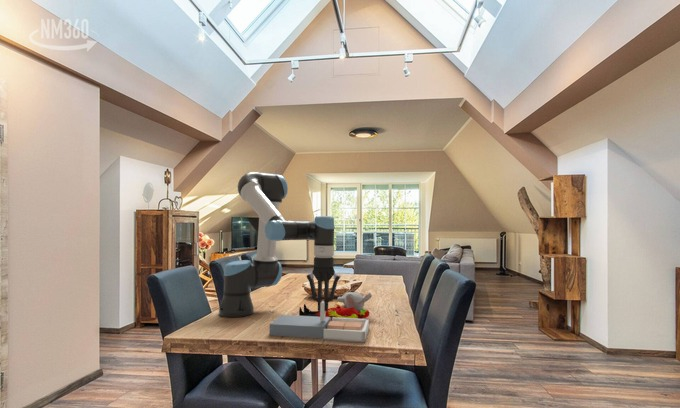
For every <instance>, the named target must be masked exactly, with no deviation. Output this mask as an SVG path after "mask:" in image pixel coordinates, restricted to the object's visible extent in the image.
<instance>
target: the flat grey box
mask: <svg viewBox="0 0 680 408" xmlns="http://www.w3.org/2000/svg"><path fill="white" fill-rule="evenodd" d="M330 321H332V317H325V320H324V321H321V320H320V317H316V316H299V315H295V314H291V315H290V314H281V315H280V316H277V318H275V319H274V320H273V321H272V322H270V323H269V329H268V330H269V331H268V332H269V333H268V336H273V337H274V336H275V337H288V338H289V337H291V338H293V337H295V338H306V337H307V338H309V339H322V340H324V329H327V325H328V324H329V322H330Z"/></svg>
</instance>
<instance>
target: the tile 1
mask: <svg viewBox="0 0 680 408" xmlns="http://www.w3.org/2000/svg"><path fill="white" fill-rule="evenodd" d="M345 324H346V322H340V321H332V320H331V321H330V322H329V324H328V325H327V329H339V330H344V325H345Z"/></svg>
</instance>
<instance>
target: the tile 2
mask: <svg viewBox="0 0 680 408" xmlns="http://www.w3.org/2000/svg"><path fill="white" fill-rule="evenodd" d="M344 330H357V331H362V323H359V322H346V324H345V325H344Z"/></svg>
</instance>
